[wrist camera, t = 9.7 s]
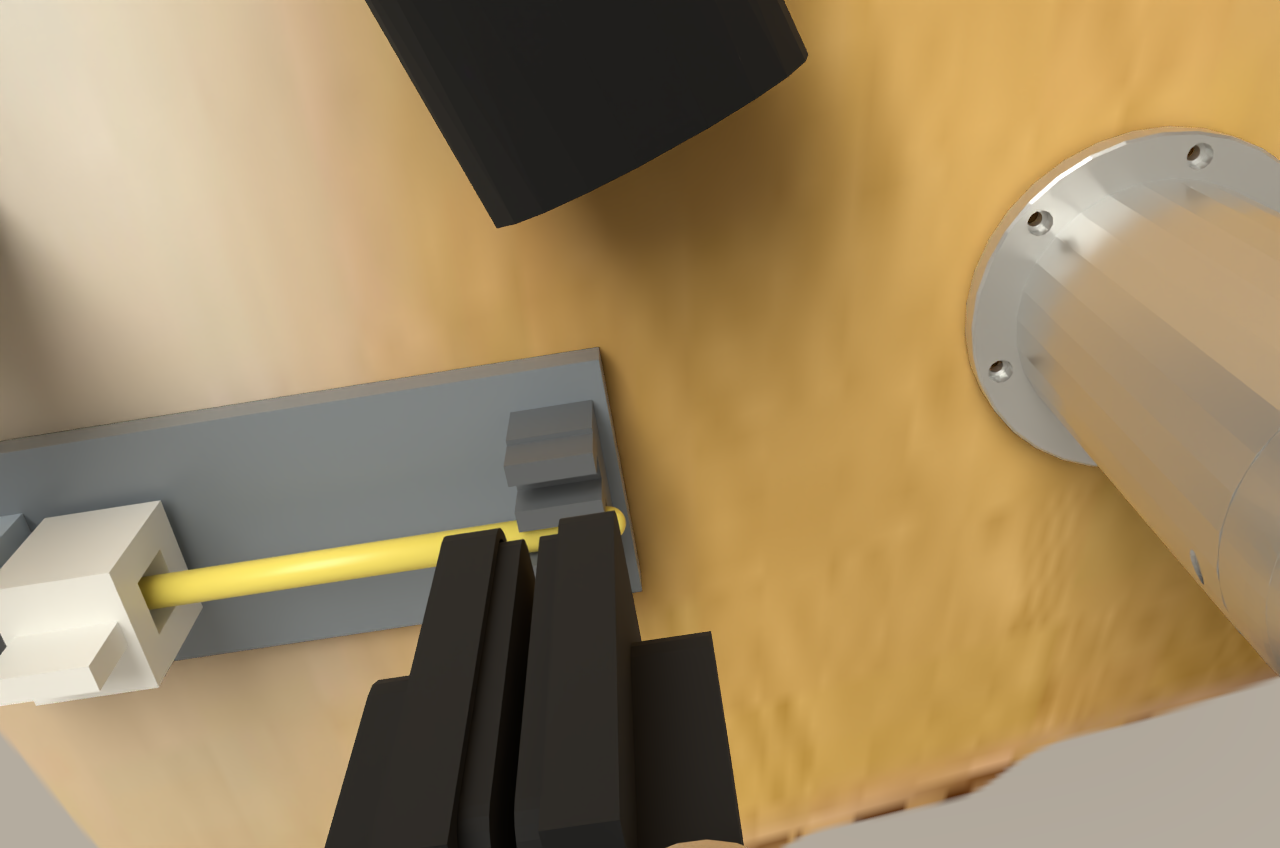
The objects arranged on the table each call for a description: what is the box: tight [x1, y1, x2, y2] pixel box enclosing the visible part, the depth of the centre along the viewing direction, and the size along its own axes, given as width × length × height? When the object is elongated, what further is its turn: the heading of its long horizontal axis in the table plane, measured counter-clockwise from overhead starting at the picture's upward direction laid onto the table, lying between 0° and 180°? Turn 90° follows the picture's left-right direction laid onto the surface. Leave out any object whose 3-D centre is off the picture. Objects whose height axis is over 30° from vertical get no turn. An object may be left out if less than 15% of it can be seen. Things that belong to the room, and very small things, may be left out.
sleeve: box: [0, 500, 203, 706], centre depth 39 cm, size 4×5×7 cm
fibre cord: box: [138, 506, 626, 610], centre depth 40 cm, size 23×1×1 cm, turn 99°
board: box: [0, 347, 642, 661], centre depth 41 cm, size 26×10×5 cm, turn 99°
